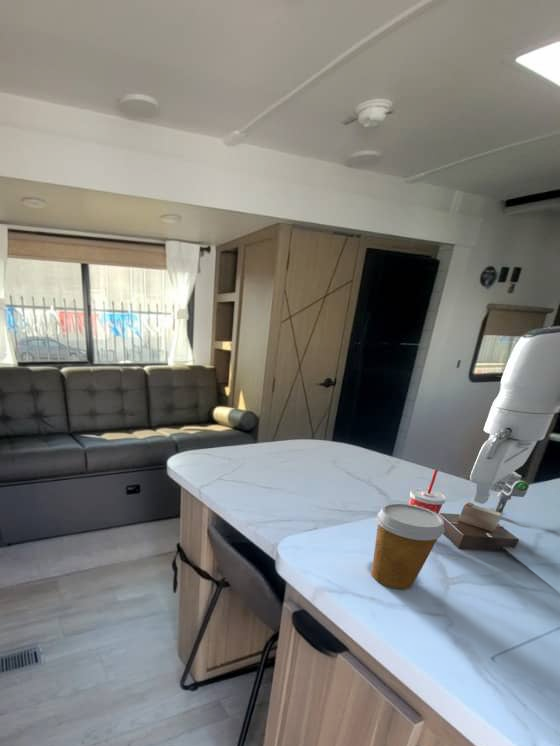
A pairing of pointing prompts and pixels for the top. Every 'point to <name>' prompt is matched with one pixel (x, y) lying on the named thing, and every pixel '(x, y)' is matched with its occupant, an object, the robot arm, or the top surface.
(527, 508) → the top surface
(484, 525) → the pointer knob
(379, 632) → the top surface
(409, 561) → the disposable coffee cup
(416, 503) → the beverage cup
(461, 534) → the brown square box
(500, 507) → the mechanical component
